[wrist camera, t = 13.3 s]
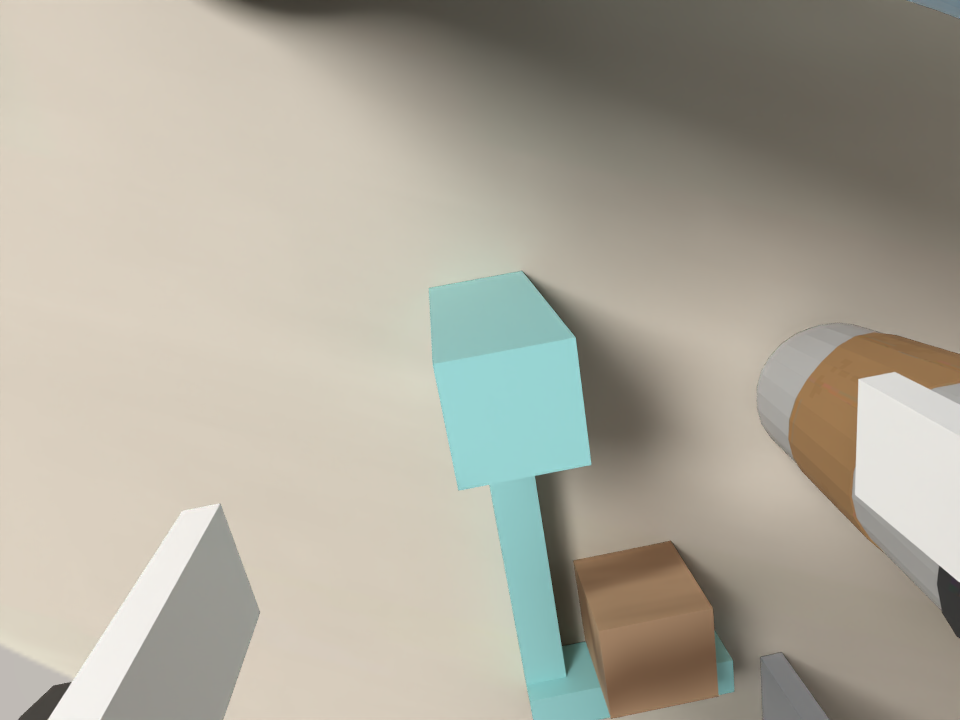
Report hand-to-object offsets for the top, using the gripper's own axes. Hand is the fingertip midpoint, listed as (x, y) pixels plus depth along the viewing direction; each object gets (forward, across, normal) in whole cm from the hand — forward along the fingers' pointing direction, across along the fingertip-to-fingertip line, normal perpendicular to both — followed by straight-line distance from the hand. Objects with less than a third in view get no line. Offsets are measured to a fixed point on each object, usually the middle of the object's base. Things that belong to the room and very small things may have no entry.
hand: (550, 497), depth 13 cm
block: (+15, +5, -16) cm, 23 cm away
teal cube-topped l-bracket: (+15, +3, -10) cm, 18 cm away
